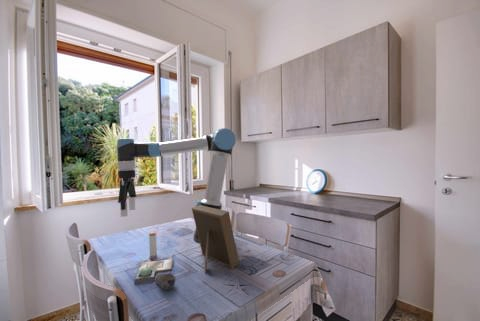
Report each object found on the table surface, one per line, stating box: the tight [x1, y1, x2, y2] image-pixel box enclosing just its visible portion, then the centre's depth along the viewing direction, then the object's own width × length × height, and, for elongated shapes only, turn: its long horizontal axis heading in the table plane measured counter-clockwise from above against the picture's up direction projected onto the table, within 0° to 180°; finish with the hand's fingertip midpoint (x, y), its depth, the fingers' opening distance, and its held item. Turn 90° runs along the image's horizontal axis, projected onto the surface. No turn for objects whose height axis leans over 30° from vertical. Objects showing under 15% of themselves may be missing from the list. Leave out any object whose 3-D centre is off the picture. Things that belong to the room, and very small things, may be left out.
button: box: [140, 267, 151, 277], centre depth 90 cm, size 4×4×3 cm
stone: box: [154, 272, 176, 291], centre depth 84 cm, size 10×5×8 cm
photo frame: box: [191, 205, 240, 274], centre depth 102 cm, size 15×22×25 cm
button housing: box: [133, 268, 158, 285], centre depth 90 cm, size 7×7×2 cm
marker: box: [148, 231, 158, 259], centre depth 110 cm, size 3×3×12 cm
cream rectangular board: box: [136, 258, 174, 274], centre depth 99 cm, size 14×10×1 cm
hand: (128, 212), depth 110 cm, fingers open, 13 cm apart
